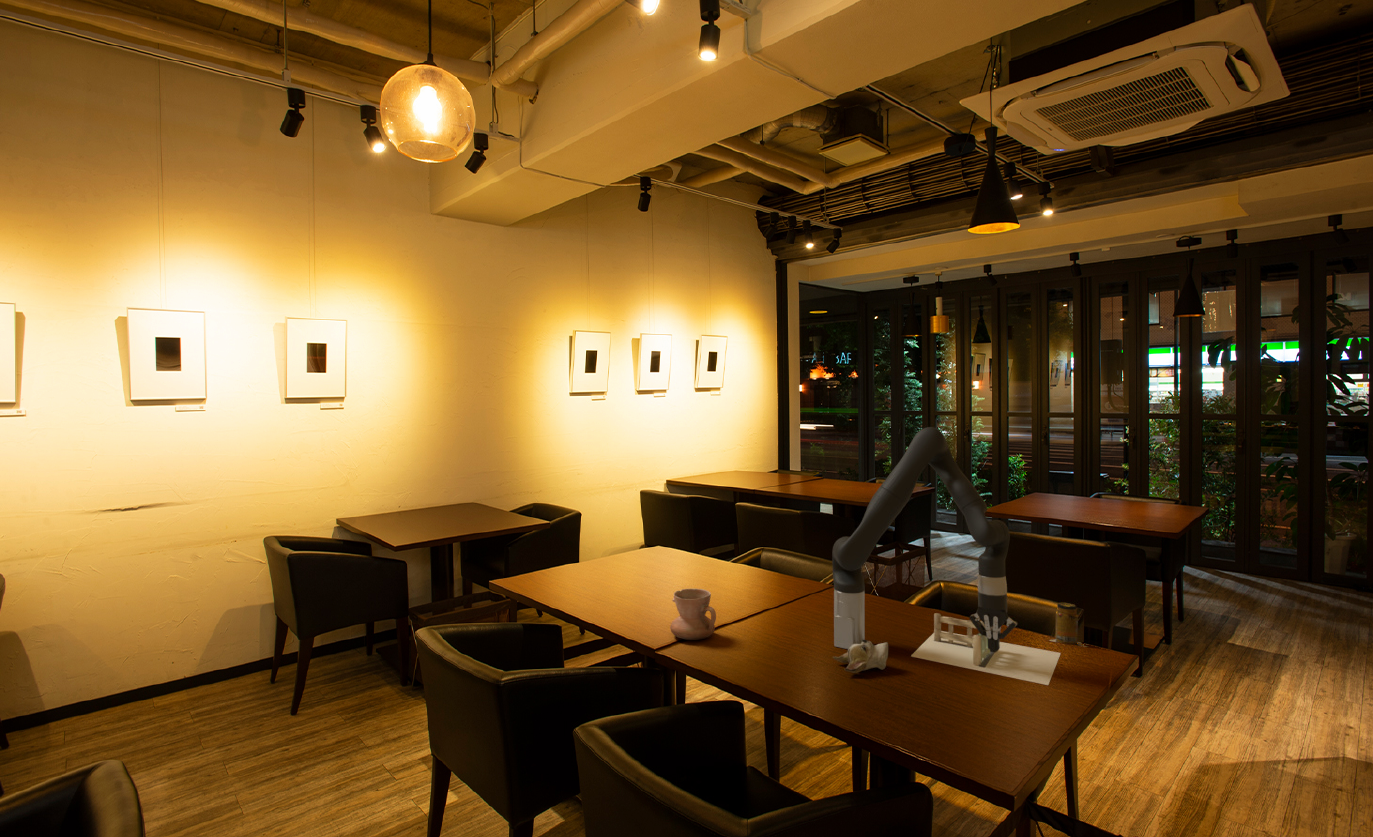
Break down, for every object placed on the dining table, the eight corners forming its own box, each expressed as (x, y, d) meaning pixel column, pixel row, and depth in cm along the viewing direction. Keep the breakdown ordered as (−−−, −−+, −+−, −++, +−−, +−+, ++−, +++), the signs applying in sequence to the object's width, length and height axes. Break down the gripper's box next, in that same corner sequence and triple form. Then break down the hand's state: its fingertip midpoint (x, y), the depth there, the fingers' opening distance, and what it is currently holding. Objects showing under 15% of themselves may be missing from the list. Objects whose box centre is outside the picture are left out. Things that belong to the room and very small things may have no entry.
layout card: (1048, 686, 175) (1048, 684, 175) (910, 657, 196) (910, 655, 196) (1060, 654, 198) (1060, 652, 198) (936, 631, 219) (936, 629, 219)
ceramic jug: (658, 635, 216) (658, 592, 215) (689, 625, 226) (689, 584, 226) (698, 649, 203) (698, 603, 203) (729, 637, 214) (729, 594, 213)
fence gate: (990, 648, 201) (990, 622, 201) (997, 650, 200) (997, 623, 200) (972, 663, 189) (972, 636, 189) (979, 665, 188) (979, 637, 188)
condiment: (1063, 637, 213) (1063, 600, 212) (1089, 646, 205) (1089, 607, 205) (1048, 641, 209) (1048, 603, 209) (1074, 649, 202) (1074, 610, 202)
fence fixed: (987, 649, 201) (987, 621, 201) (986, 651, 200) (986, 623, 200) (935, 639, 210) (935, 612, 210) (933, 640, 209) (933, 614, 209)
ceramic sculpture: (895, 643, 183) (844, 649, 181) (897, 674, 183) (846, 680, 181) (879, 630, 194) (830, 636, 192) (881, 660, 194) (832, 666, 192)
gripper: (1020, 591, 188) (1022, 652, 188) (972, 584, 196) (973, 643, 196) (1013, 597, 182) (1015, 660, 182) (964, 590, 190) (965, 650, 190)
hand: (993, 651), depth 189 cm, fingers closed
